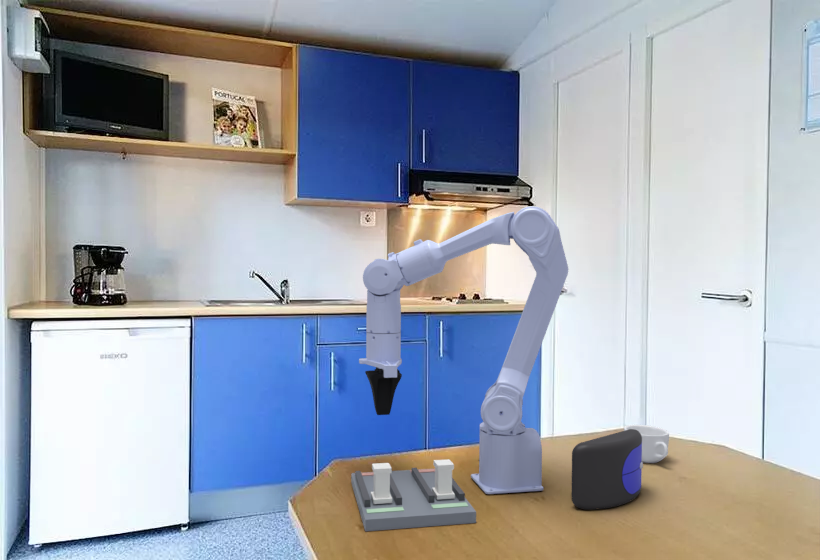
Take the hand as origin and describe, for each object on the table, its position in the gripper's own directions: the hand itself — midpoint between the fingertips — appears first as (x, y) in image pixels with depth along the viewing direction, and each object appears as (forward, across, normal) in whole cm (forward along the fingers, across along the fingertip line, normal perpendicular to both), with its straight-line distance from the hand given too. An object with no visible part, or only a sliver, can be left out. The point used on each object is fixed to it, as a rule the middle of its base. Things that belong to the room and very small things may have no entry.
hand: (382, 414), depth 96 cm
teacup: (+11, +1, +49) cm, 50 cm away
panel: (+10, +12, +2) cm, 16 cm away
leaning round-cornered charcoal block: (+11, +16, +32) cm, 37 cm away
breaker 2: (+8, +15, +7) cm, 18 cm away
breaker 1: (+8, +15, -3) cm, 17 cm away
